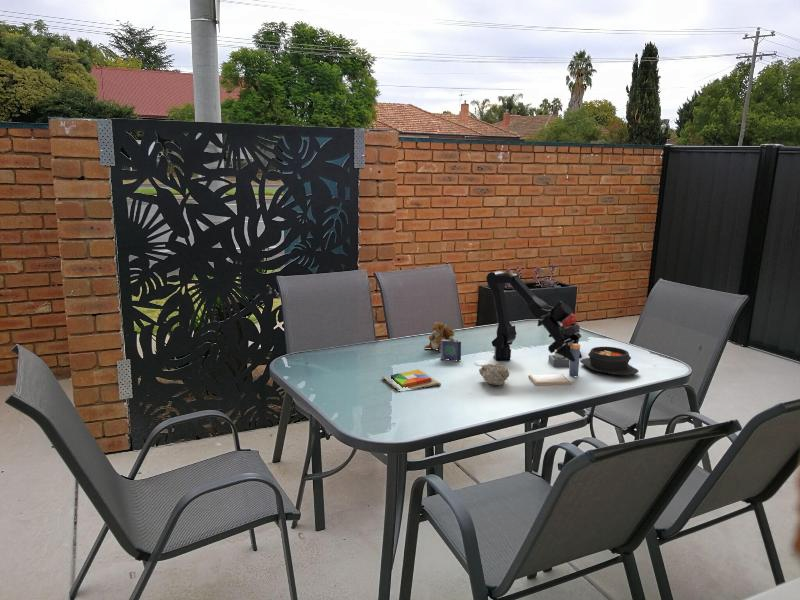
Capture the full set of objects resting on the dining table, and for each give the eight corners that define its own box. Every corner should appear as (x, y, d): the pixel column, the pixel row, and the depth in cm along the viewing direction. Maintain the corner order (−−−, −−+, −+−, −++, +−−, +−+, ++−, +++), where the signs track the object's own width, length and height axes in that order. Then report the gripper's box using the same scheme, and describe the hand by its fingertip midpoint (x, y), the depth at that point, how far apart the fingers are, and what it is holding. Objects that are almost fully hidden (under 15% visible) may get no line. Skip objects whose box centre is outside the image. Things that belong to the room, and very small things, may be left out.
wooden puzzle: (380, 380, 241) (380, 371, 240) (423, 374, 248) (423, 366, 248) (397, 393, 225) (397, 384, 225) (442, 387, 232) (442, 378, 232)
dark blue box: (439, 359, 266) (440, 336, 264) (441, 358, 269) (442, 334, 267) (460, 361, 263) (460, 338, 261) (461, 360, 266) (462, 336, 264)
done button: (555, 361, 258) (556, 353, 257) (552, 359, 262) (553, 350, 261) (564, 361, 258) (565, 352, 257) (561, 359, 262) (562, 350, 261)
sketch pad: (535, 385, 233) (535, 382, 232) (528, 377, 242) (528, 374, 242) (570, 384, 233) (570, 381, 233) (562, 376, 243) (562, 373, 243)
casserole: (648, 374, 246) (649, 354, 244) (618, 382, 236) (620, 362, 235) (599, 359, 267) (600, 341, 265) (570, 366, 257) (571, 347, 255)
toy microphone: (570, 377, 243) (572, 346, 240) (567, 374, 246) (569, 343, 244) (579, 376, 243) (581, 345, 240) (576, 373, 246) (578, 343, 244)
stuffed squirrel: (422, 349, 283) (422, 322, 280) (440, 343, 293) (441, 317, 290) (439, 353, 276) (439, 325, 274) (457, 347, 287) (457, 320, 284)
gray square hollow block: (553, 366, 256) (553, 359, 256) (548, 361, 263) (548, 355, 263) (569, 366, 257) (569, 359, 256) (563, 361, 264) (564, 354, 263)
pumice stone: (509, 391, 226) (510, 371, 224) (477, 389, 228) (478, 369, 226) (508, 379, 239) (509, 360, 238) (478, 378, 241) (479, 359, 240)
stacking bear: (557, 346, 288) (559, 310, 285) (579, 348, 284) (581, 311, 281) (555, 352, 278) (556, 314, 275) (577, 354, 275) (579, 316, 271)
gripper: (556, 321, 236) (581, 353, 231) (578, 313, 249) (602, 343, 244) (537, 337, 243) (561, 368, 237) (560, 328, 256) (582, 358, 251)
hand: (577, 359), depth 242 cm, fingers open, 6 cm apart
